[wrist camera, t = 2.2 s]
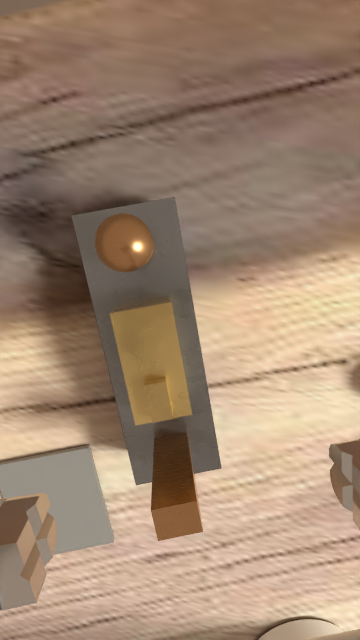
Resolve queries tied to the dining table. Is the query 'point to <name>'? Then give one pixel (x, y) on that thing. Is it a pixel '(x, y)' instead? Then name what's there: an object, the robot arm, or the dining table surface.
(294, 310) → the dining table surface
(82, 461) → the mat
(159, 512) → the plane body
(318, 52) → the dining table surface
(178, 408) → the yellow block
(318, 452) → the dining table surface
